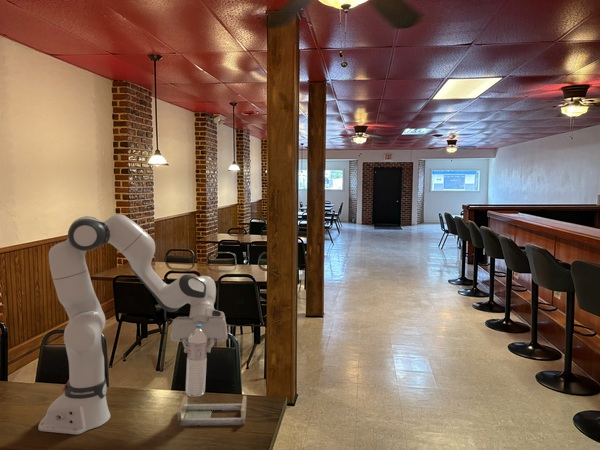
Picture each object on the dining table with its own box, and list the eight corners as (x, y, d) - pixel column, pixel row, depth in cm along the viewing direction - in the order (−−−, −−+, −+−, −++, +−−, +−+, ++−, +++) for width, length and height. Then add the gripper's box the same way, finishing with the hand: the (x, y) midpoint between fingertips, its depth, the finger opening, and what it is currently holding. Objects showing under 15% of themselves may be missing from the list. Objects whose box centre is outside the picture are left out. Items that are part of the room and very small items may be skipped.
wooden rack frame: (177, 425, 155) (177, 411, 154) (184, 409, 166) (184, 396, 166) (244, 424, 156) (244, 411, 156) (246, 408, 167) (246, 395, 167)
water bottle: (201, 398, 156) (204, 329, 154) (182, 396, 157) (185, 326, 155) (207, 389, 163) (211, 323, 161) (189, 387, 164) (192, 321, 162)
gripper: (171, 312, 164) (165, 348, 155) (228, 312, 165) (225, 347, 156) (174, 320, 169) (168, 355, 160) (229, 320, 170) (226, 355, 161)
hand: (197, 352), depth 158 cm, fingers closed on water bottle, 6 cm apart
